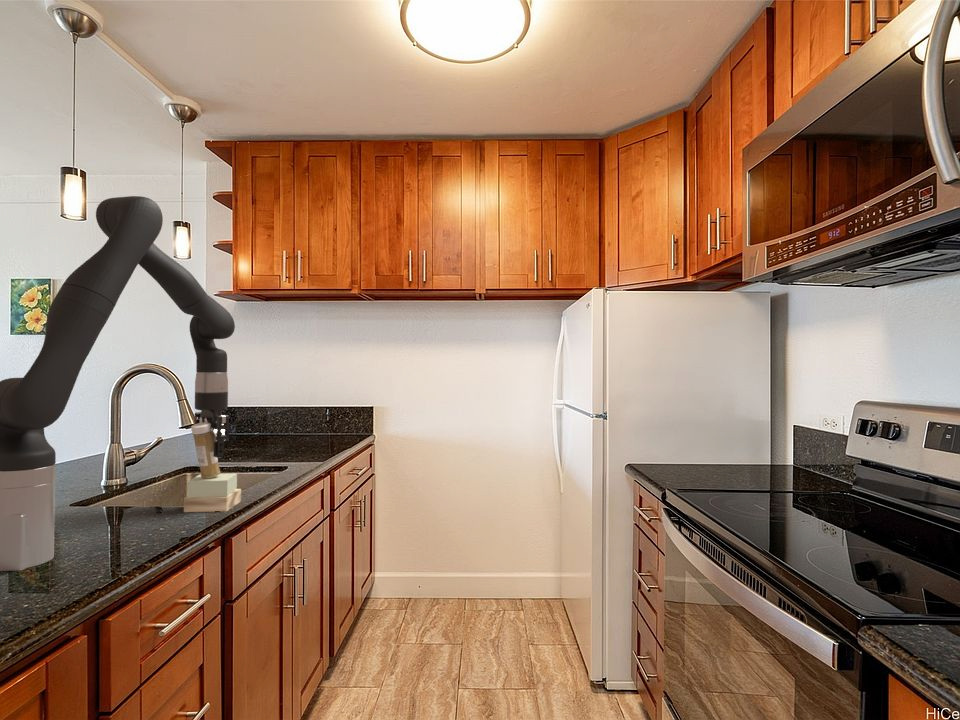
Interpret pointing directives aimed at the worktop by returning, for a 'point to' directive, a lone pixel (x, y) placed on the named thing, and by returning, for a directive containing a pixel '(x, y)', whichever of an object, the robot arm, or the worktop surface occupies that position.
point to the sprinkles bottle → (205, 450)
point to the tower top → (212, 486)
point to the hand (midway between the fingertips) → (210, 455)
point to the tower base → (212, 503)
